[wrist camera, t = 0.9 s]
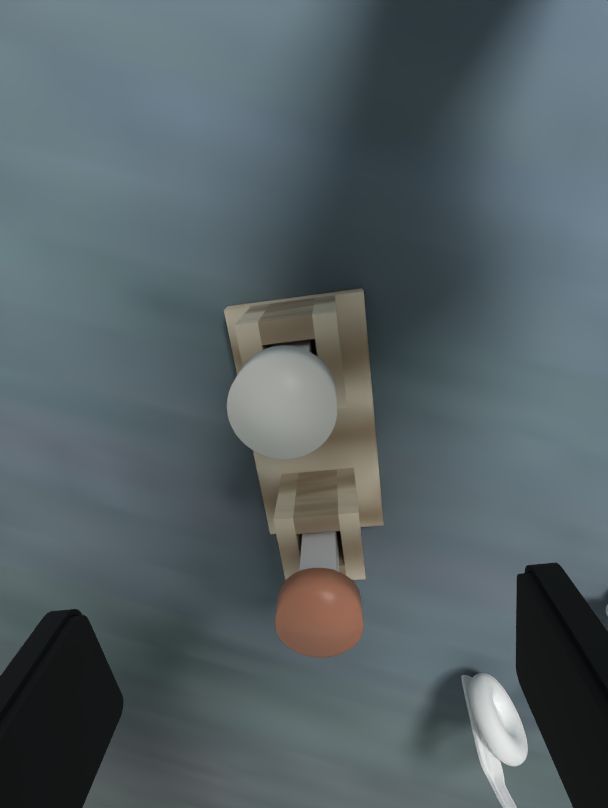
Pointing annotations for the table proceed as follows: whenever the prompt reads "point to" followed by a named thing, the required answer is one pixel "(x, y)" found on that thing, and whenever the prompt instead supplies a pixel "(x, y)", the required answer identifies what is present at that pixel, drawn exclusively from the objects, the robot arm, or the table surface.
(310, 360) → the plug
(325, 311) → the block
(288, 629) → the terracotta plug
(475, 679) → the headset
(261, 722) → the table surface
